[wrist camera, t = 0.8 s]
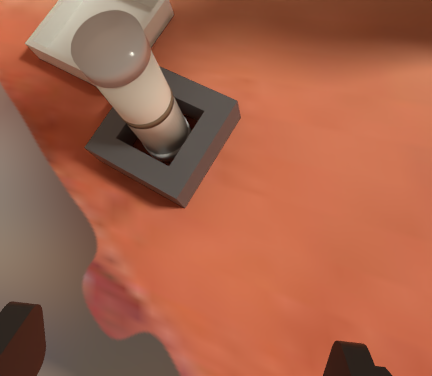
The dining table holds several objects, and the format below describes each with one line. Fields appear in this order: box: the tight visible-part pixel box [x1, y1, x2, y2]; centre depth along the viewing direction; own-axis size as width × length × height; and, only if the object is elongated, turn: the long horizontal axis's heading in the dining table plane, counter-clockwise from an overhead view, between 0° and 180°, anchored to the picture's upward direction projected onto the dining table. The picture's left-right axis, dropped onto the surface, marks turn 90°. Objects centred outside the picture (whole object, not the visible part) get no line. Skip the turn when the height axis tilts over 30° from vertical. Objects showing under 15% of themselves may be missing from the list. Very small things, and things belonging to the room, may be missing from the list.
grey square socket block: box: [84, 66, 241, 208], centre depth 35 cm, size 10×10×3 cm
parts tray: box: [25, 0, 174, 86], centre depth 40 cm, size 11×11×2 cm
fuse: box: [71, 10, 192, 162], centre depth 30 cm, size 5×5×14 cm
